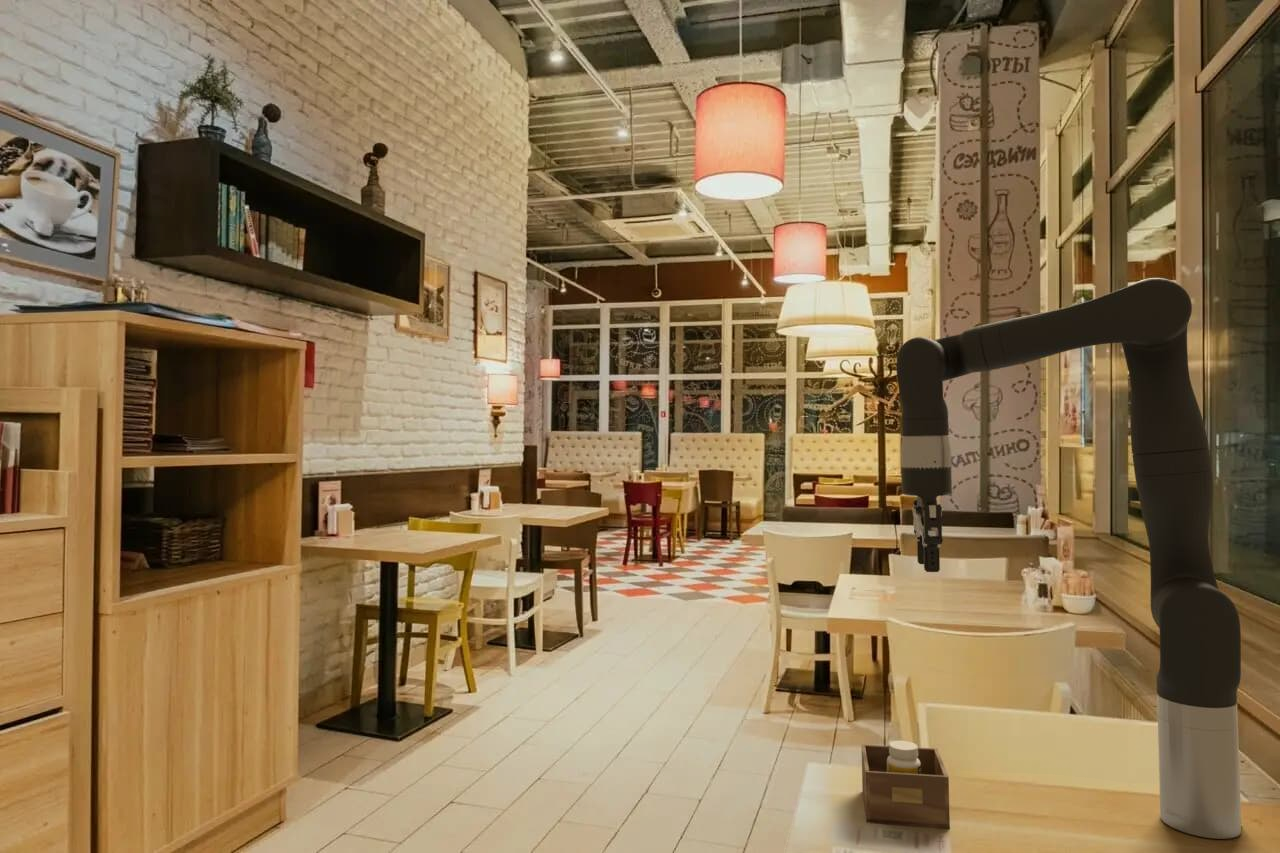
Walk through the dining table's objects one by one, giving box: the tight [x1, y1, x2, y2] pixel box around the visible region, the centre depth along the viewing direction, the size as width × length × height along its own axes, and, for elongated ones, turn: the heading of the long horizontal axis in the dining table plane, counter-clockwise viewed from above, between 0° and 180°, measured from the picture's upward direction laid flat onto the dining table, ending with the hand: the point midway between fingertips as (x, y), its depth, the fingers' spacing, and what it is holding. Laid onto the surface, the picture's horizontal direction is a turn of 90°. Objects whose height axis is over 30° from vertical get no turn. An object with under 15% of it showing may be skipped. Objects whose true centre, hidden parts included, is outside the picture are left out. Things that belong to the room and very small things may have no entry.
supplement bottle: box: [887, 740, 921, 774], centre depth 123 cm, size 5×5×8 cm
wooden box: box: [861, 744, 951, 829], centre depth 122 cm, size 11×11×7 cm
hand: (928, 567), depth 133 cm, fingers open, 8 cm apart
